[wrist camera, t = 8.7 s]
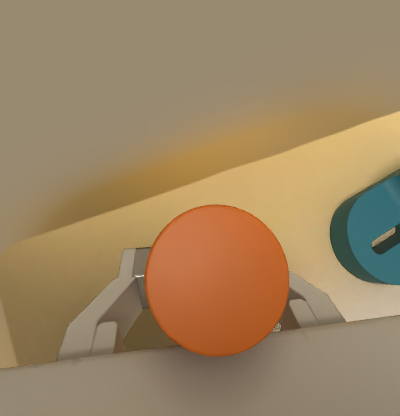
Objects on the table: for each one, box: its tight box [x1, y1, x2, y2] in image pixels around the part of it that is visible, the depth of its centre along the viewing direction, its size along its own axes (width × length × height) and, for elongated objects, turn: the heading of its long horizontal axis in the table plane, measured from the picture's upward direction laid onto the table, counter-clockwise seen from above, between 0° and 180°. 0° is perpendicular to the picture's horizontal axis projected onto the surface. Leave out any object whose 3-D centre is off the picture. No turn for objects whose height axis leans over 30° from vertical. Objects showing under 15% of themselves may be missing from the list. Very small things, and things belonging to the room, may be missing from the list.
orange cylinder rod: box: [144, 205, 289, 357], centre depth 11 cm, size 3×3×14 cm
